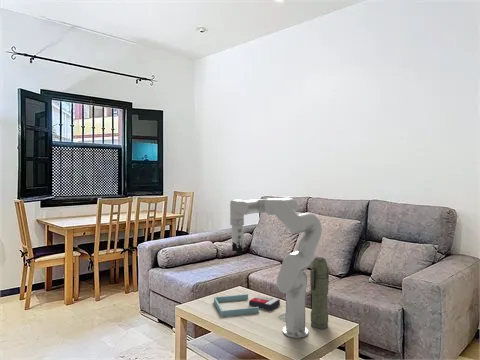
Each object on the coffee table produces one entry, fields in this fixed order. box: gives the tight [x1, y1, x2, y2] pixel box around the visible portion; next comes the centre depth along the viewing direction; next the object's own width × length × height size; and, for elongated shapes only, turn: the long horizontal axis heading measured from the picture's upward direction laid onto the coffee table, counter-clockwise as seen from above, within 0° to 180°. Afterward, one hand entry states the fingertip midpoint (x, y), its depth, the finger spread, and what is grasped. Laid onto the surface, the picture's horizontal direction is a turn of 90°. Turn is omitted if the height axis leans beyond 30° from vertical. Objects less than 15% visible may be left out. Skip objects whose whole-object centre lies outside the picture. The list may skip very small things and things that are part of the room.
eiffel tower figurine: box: [277, 312, 286, 323], centre depth 205 cm, size 15×10×13 cm
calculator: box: [248, 295, 281, 312], centre depth 221 cm, size 11×4×15 cm
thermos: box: [309, 256, 330, 330], centre depth 192 cm, size 9×12×35 cm
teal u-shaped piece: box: [213, 293, 260, 317], centre depth 219 cm, size 23×21×3 cm
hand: (237, 252), depth 208 cm, fingers open, 9 cm apart
